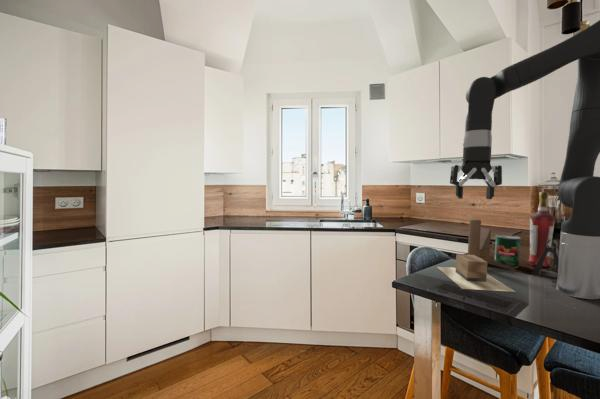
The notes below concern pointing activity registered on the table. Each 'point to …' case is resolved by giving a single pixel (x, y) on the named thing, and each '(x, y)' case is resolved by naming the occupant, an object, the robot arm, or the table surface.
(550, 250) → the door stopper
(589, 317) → the table surface
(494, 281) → the birch board
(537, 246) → the liquor
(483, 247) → the wooden block
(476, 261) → the walnut block
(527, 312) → the table surface
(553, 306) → the table surface
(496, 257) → the canned tomato
